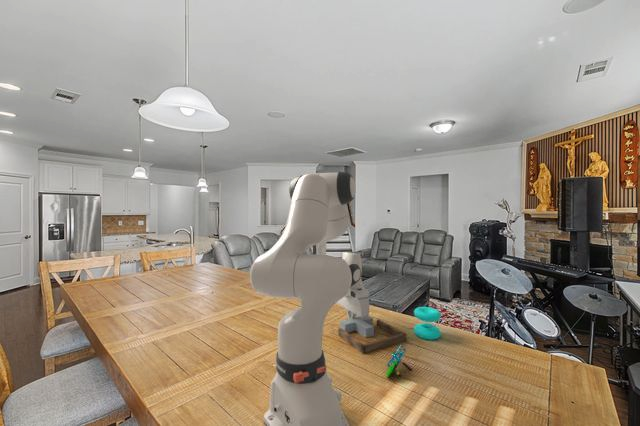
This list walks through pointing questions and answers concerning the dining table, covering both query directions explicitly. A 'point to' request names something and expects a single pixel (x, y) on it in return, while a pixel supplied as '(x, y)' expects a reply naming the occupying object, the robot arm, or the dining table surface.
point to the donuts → (424, 328)
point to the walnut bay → (377, 344)
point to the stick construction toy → (398, 360)
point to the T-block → (359, 326)
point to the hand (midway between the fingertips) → (351, 320)
